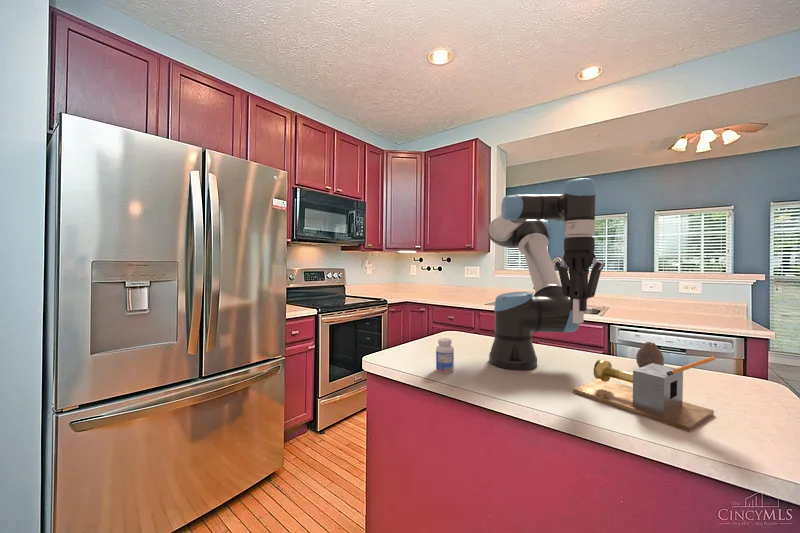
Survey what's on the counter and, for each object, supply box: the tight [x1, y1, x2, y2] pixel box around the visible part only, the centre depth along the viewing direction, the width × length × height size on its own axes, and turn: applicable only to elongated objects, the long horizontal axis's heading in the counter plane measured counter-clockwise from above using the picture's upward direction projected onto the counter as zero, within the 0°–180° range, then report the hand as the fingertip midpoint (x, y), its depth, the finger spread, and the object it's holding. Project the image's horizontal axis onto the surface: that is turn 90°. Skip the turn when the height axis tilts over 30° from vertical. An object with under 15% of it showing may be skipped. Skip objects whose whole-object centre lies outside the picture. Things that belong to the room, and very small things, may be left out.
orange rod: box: [672, 355, 717, 374], centre depth 73 cm, size 8×4×1 cm
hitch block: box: [572, 363, 715, 433], centre depth 82 cm, size 24×14×10 cm, turn 32°
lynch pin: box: [593, 359, 633, 385], centre depth 85 cm, size 12×5×5 cm, turn 32°
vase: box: [635, 341, 665, 368], centre depth 105 cm, size 7×7×9 cm
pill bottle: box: [435, 337, 455, 374], centre depth 106 cm, size 6×5×10 cm
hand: (578, 322), depth 94 cm, fingers closed
